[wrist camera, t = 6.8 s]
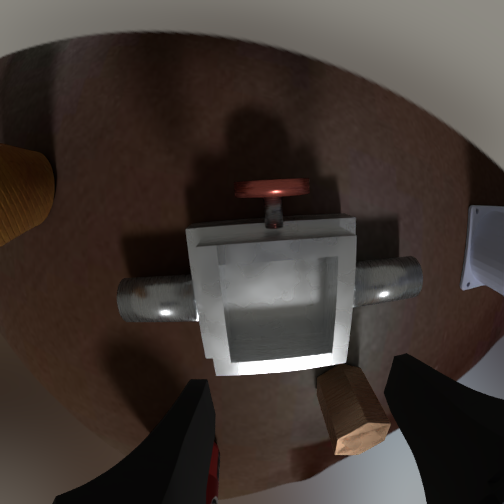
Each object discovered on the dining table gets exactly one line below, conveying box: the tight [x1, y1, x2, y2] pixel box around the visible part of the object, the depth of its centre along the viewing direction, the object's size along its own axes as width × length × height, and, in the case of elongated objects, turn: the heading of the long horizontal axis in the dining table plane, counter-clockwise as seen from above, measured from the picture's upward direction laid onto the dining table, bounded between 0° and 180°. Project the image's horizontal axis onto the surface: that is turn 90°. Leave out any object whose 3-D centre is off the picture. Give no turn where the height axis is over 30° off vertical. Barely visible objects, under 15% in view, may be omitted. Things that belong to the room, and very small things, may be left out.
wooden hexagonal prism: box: [317, 363, 391, 455], centre depth 18 cm, size 4×5×7 cm
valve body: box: [117, 178, 423, 376], centre depth 16 cm, size 20×11×4 cm, turn 94°
